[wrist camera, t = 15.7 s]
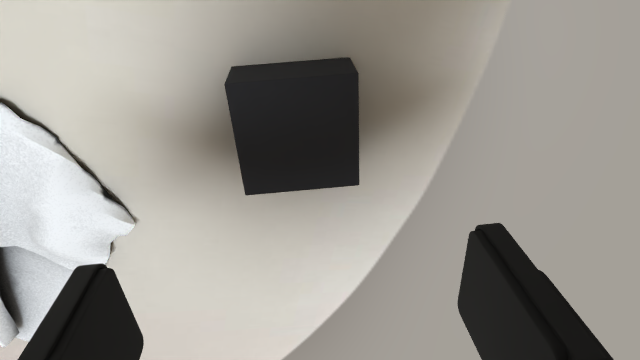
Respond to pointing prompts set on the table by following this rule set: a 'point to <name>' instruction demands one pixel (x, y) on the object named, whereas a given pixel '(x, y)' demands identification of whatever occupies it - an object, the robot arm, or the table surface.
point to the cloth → (46, 223)
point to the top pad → (295, 124)
